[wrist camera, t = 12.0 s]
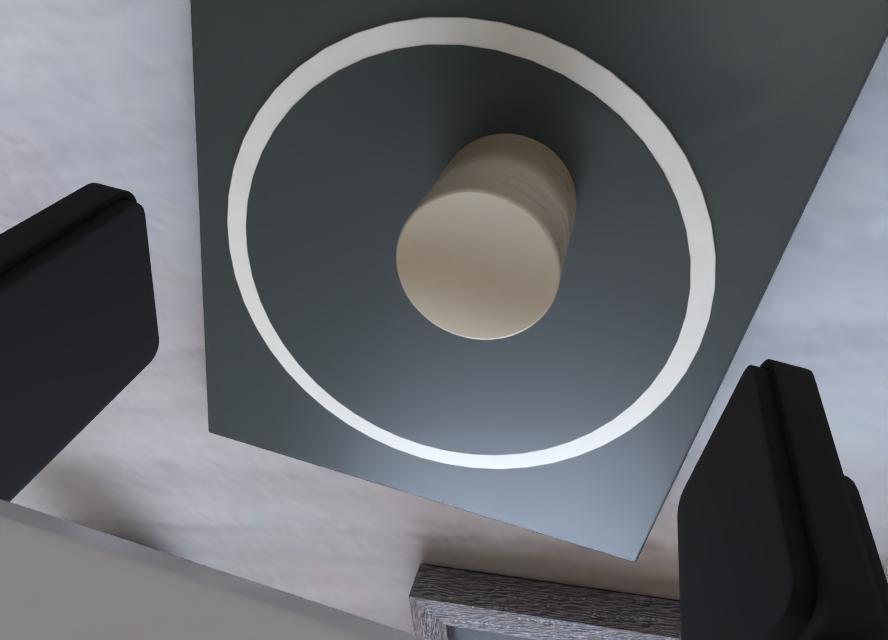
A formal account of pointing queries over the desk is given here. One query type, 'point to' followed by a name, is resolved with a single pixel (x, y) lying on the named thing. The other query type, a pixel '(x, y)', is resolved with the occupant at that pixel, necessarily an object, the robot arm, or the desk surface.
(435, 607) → the picture frame
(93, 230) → the robot arm
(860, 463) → the desk surface
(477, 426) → the slate board
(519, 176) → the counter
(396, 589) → the desk surface
